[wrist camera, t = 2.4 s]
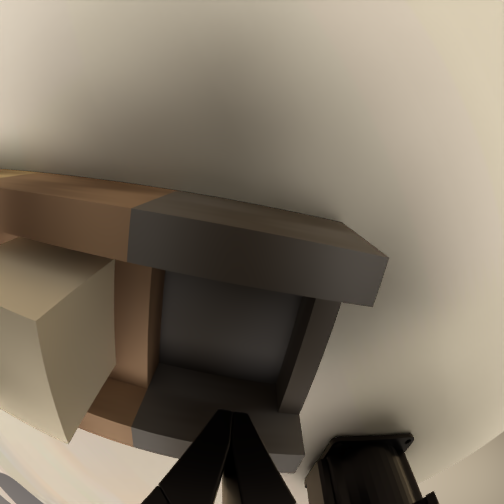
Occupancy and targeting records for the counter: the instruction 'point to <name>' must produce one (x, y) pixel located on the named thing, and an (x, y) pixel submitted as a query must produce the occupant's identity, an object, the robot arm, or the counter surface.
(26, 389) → the cream block
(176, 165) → the counter surface
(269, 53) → the counter surface
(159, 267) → the channel
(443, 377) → the counter surface
